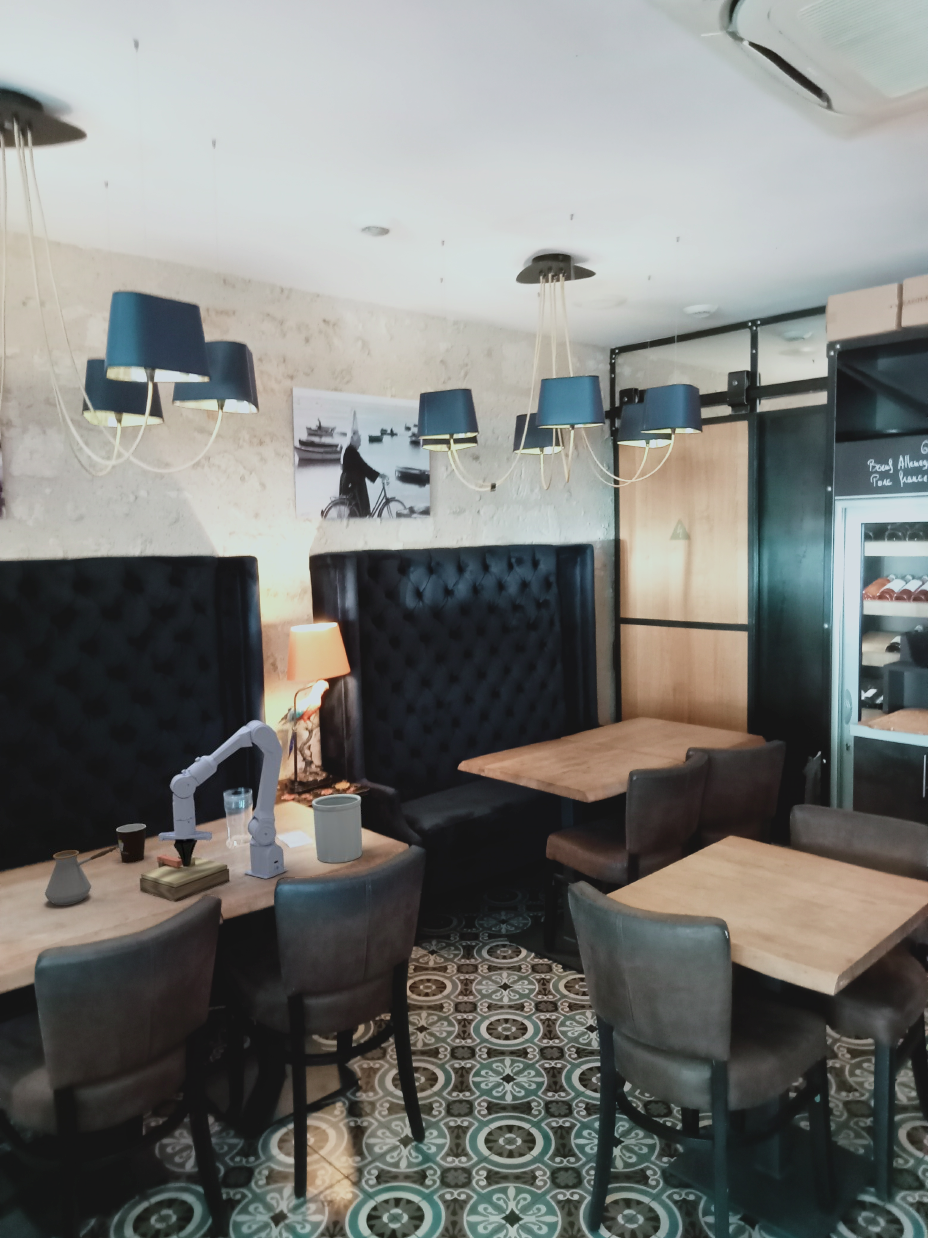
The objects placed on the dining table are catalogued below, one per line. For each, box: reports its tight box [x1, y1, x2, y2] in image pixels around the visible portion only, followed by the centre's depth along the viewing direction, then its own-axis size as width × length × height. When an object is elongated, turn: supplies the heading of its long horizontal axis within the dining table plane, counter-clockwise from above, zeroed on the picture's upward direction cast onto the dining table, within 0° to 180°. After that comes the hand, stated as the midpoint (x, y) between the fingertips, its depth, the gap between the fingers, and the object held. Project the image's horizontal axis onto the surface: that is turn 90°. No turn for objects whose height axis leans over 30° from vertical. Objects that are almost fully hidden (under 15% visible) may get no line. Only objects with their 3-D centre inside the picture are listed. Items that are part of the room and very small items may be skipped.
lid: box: [140, 855, 228, 887], centre depth 244 cm, size 15×17×3 cm
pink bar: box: [156, 853, 183, 867], centre depth 247 cm, size 9×2×2 cm, turn 54°
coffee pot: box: [44, 845, 122, 906], centre depth 235 cm, size 21×12×15 cm, turn 84°
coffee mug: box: [116, 823, 147, 864], centre depth 270 cm, size 12×9×10 cm
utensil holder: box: [311, 793, 363, 864], centre depth 265 cm, size 15×15×18 cm
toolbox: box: [139, 861, 230, 902], centre depth 244 cm, size 18×18×6 cm
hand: (186, 865), depth 243 cm, fingers closed
